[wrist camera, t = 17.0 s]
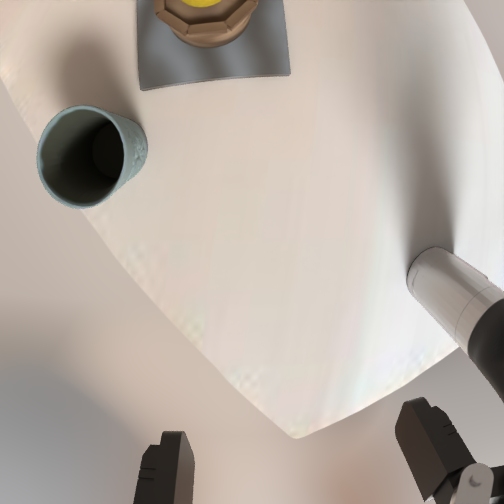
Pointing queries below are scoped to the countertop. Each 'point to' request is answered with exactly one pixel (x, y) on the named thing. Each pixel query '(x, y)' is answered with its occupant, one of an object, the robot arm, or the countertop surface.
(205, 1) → the lemon
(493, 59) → the countertop surface
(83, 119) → the teal cup
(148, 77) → the pot with square base
